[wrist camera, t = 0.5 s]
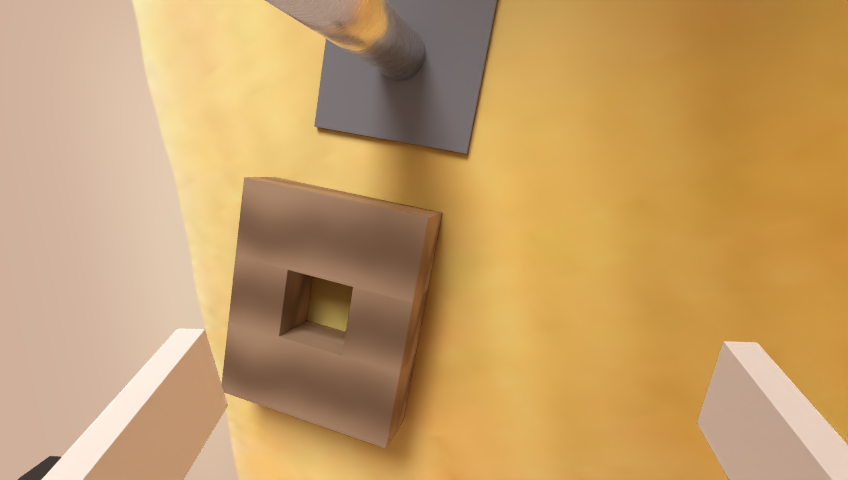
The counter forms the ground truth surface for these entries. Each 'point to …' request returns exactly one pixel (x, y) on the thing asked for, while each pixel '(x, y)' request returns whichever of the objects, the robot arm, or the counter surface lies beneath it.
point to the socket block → (289, 298)
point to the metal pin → (363, 32)
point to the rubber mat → (414, 80)
